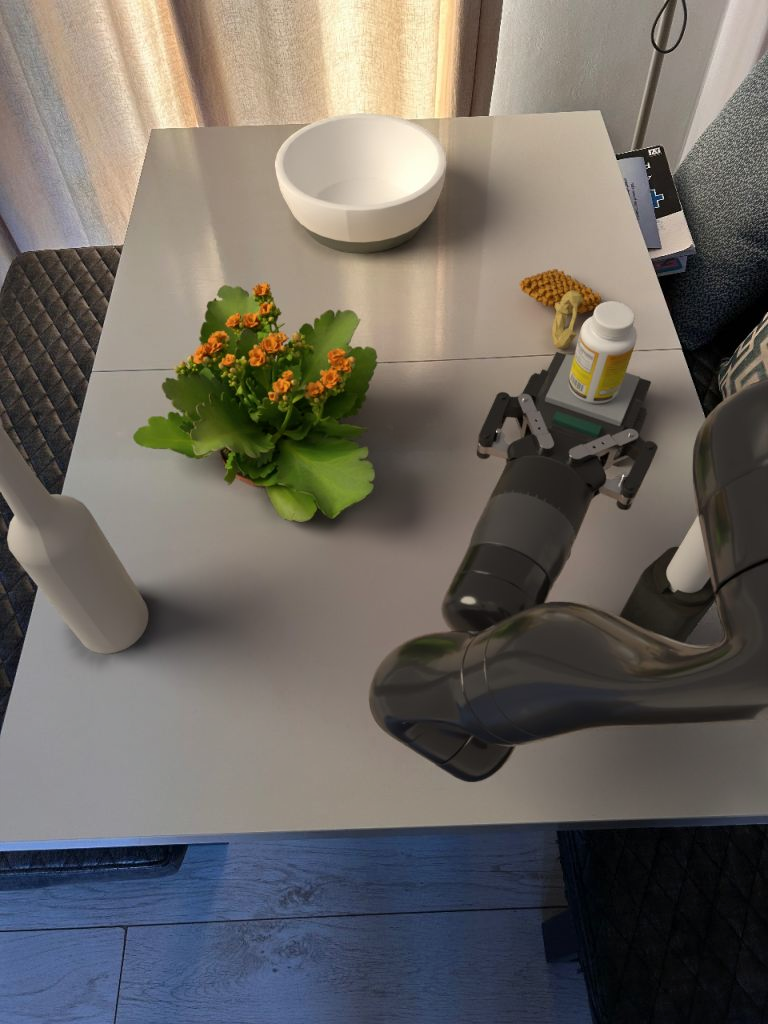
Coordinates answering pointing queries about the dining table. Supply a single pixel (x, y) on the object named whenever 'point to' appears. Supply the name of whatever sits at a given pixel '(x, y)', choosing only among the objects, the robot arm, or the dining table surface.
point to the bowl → (361, 180)
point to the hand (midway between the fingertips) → (589, 391)
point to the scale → (583, 416)
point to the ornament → (571, 300)
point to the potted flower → (273, 404)
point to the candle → (673, 590)
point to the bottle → (70, 559)
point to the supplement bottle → (603, 353)
